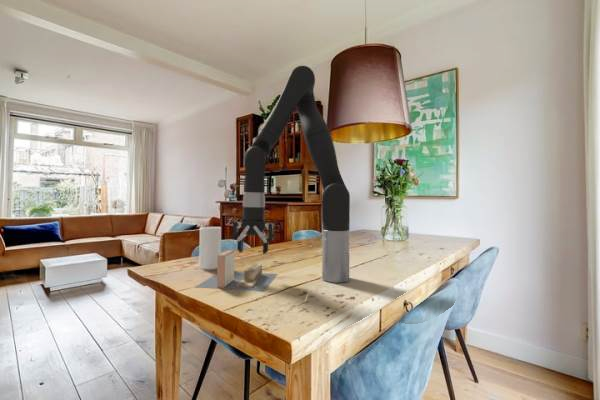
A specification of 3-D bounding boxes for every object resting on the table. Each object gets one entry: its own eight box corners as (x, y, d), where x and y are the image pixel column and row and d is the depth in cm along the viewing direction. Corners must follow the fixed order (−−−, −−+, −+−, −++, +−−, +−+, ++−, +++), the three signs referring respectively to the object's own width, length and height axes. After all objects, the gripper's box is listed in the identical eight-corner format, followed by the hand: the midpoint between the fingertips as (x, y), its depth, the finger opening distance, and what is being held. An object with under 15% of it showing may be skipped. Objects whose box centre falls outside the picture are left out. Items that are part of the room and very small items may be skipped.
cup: (217, 270, 108) (217, 228, 108) (196, 269, 108) (196, 228, 108) (223, 265, 116) (223, 226, 116) (203, 264, 116) (204, 226, 116)
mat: (277, 274, 102) (277, 274, 102) (263, 292, 83) (263, 291, 83) (220, 272, 105) (220, 271, 105) (194, 288, 86) (194, 287, 86)
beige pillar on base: (264, 274, 101) (264, 263, 101) (251, 287, 86) (251, 274, 86) (250, 274, 102) (251, 263, 101) (236, 286, 87) (236, 274, 87)
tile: (234, 280, 94) (234, 250, 94) (224, 287, 86) (225, 255, 86) (227, 279, 94) (227, 250, 94) (217, 287, 86) (217, 255, 86)
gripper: (276, 206, 99) (275, 251, 99) (238, 204, 101) (237, 249, 101) (271, 206, 92) (270, 256, 92) (229, 205, 94) (228, 253, 94)
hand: (252, 252), depth 97 cm, fingers open, 8 cm apart
